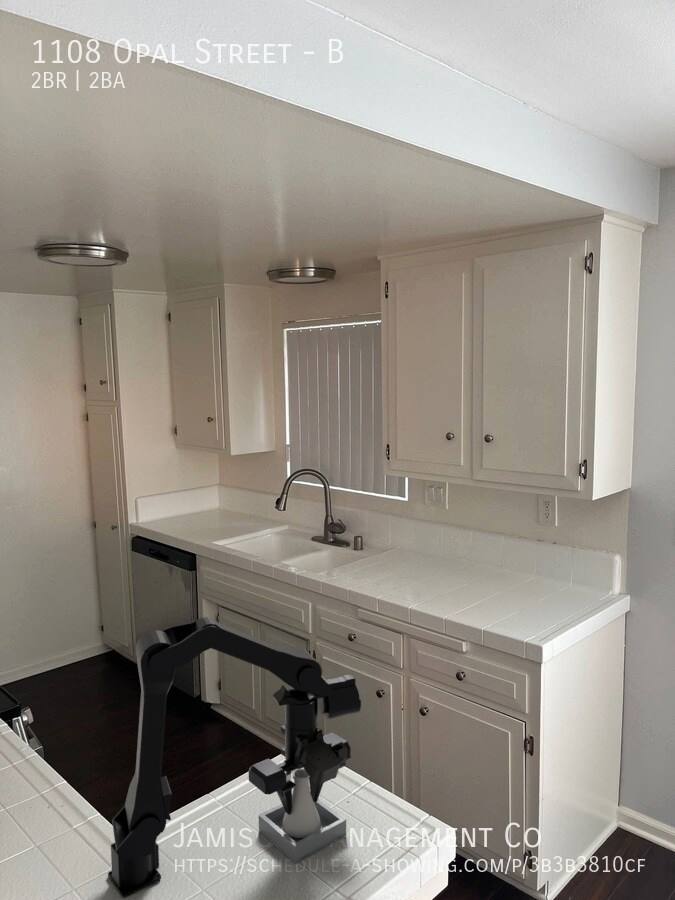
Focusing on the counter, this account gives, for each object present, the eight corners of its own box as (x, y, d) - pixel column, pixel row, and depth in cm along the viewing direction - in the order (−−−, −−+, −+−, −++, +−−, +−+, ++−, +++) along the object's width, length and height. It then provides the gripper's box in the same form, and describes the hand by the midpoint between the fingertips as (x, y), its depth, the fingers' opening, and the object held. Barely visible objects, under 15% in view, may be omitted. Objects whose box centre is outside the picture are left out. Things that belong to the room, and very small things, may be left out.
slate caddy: (295, 863, 114) (295, 846, 114) (258, 830, 122) (258, 814, 122) (346, 835, 121) (346, 819, 121) (308, 806, 129) (308, 791, 129)
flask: (317, 842, 117) (317, 786, 116) (276, 837, 119) (276, 782, 118) (325, 816, 124) (325, 763, 124) (286, 812, 126) (286, 760, 125)
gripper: (284, 760, 108) (284, 853, 109) (371, 723, 119) (371, 808, 121) (246, 732, 116) (247, 819, 118) (331, 700, 128) (331, 780, 129)
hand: (301, 807), depth 121 cm, fingers open, 5 cm apart
